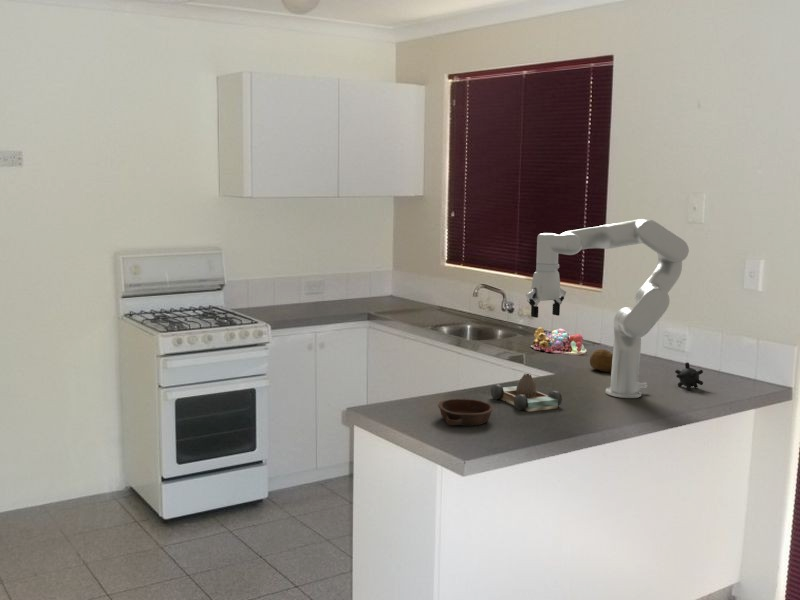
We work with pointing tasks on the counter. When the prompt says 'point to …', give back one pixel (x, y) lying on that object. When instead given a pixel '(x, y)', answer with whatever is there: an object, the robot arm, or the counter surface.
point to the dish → (465, 411)
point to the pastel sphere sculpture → (558, 342)
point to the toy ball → (689, 377)
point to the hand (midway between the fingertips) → (545, 316)
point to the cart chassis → (525, 403)
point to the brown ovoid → (526, 386)
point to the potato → (601, 360)
